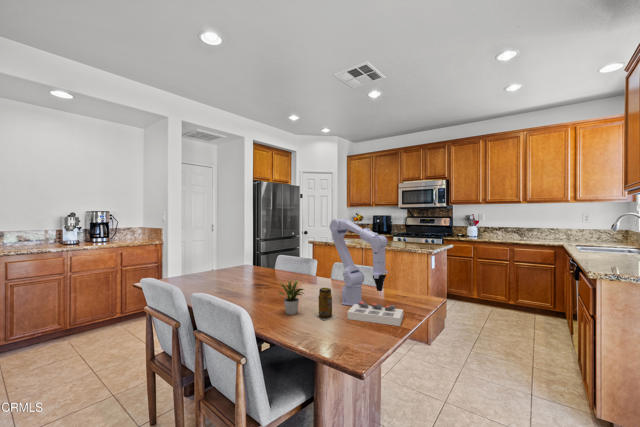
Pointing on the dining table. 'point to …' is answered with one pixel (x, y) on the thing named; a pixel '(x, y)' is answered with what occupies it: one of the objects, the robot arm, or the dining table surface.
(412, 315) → the dining table surface
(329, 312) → the condiment
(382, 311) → the power strip
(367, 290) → the dining table surface
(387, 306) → the rocker right
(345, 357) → the dining table surface
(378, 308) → the rocker middle
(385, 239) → the robot arm
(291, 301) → the house plant
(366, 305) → the rocker left
